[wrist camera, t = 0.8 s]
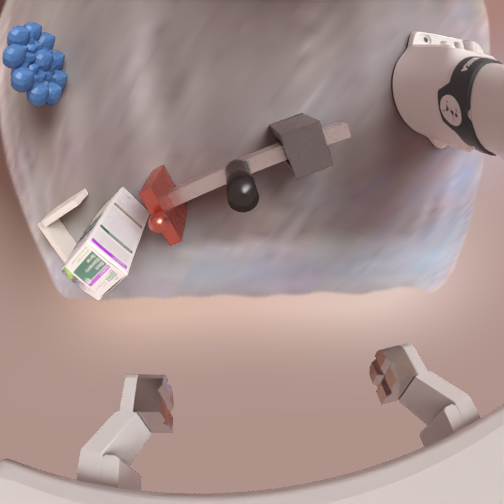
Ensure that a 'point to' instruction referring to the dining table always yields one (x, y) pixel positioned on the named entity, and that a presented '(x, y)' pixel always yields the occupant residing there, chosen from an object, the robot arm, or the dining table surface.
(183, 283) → the dining table surface
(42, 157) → the dining table surface
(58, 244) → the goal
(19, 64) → the grapes
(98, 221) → the syrup box
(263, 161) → the linear slider rail
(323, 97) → the dining table surface
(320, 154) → the grey hollow block
